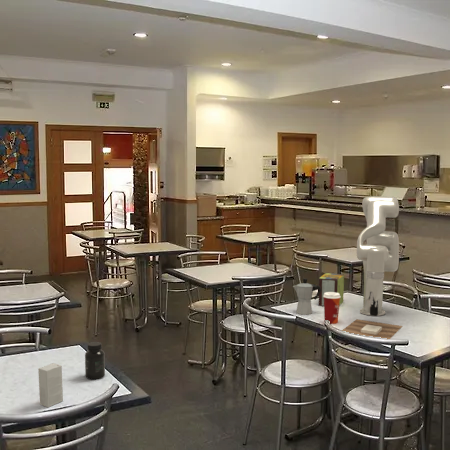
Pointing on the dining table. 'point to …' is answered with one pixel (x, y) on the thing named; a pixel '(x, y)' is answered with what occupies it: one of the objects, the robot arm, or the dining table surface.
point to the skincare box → (50, 385)
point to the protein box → (331, 286)
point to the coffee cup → (331, 306)
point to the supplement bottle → (94, 361)
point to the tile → (371, 329)
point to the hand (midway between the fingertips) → (373, 314)
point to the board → (386, 331)
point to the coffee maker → (305, 296)
